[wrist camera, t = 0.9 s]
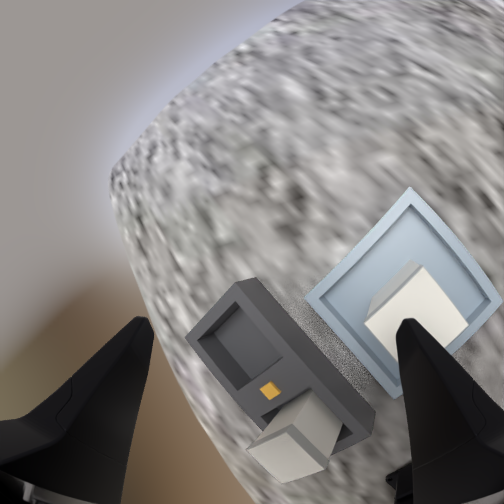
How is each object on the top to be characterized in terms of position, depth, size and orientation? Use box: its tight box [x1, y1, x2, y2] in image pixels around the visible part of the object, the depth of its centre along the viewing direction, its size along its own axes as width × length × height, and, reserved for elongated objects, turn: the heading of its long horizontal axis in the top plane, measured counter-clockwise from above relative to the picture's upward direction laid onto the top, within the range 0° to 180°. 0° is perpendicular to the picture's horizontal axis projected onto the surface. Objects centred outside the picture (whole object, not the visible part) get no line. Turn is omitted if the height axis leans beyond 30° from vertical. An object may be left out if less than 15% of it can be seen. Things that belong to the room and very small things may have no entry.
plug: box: [363, 259, 469, 363], centre depth 14 cm, size 4×4×7 cm
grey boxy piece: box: [185, 277, 375, 484], centre depth 19 cm, size 16×8×8 cm, turn 45°
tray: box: [304, 187, 503, 400], centre depth 17 cm, size 11×11×2 cm
